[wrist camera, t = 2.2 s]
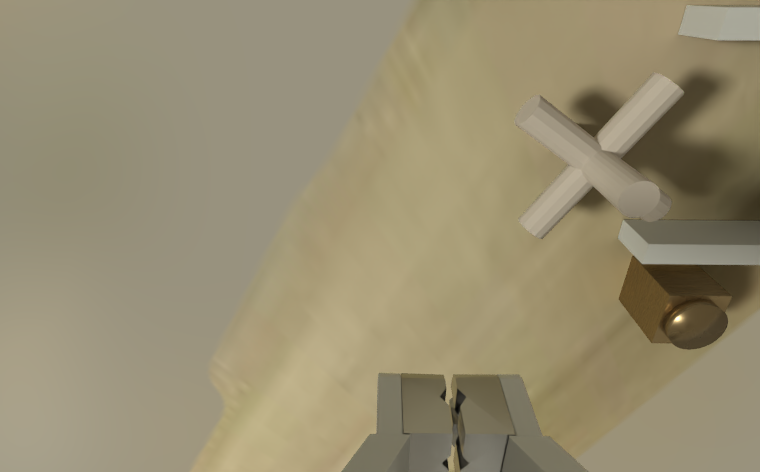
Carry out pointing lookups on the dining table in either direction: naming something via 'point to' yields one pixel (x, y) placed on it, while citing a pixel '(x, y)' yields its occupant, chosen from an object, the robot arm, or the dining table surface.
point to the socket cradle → (702, 237)
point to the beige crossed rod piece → (598, 157)
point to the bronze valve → (675, 303)
